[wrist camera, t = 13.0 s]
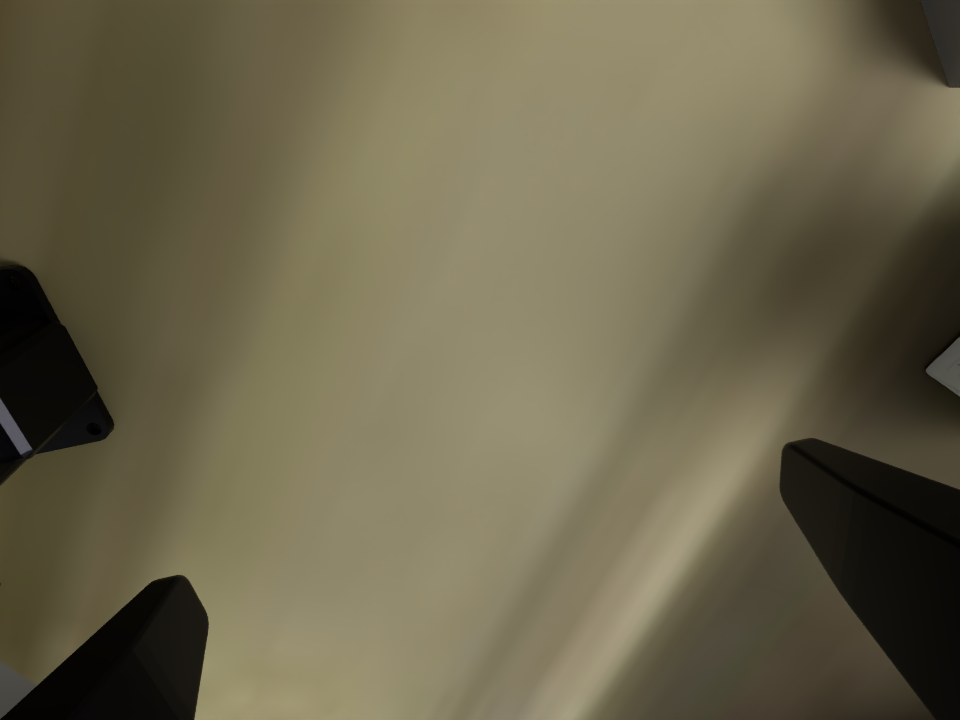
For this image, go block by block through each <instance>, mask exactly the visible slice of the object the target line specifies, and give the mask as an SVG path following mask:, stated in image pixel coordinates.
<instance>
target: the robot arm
mask: <svg viewBox="0 0 960 720" xmlns="http://www.w3.org/2000/svg"><path fill="white" fill-rule="evenodd" d="M12 276H13V277H15V278H17V279H18V280H19V281H20V282H21V285H22V287H21V288H20V287H18V286H15V284H14V283H13V282H12V279H11V277H12ZM92 423H96V424H98V425H99V426H100V427H101V429H97V428H95V427H94V426H93V425H92ZM113 429H114V422H113V419H112V418H111V416H110V414H109V412H108V410H107V408H106V406H105V405H104V403H103V401H102V399H101V397H100V395H99V393H98V392H97V385H96V383H95V381H94V380H93V378H92V376H91V374H90V372H89V370H88V368H87V367H86V365H85V363H84V361H83V359H82V357H81V355H80V353H79V352H78V350H77V348H76V346H75V344H74V342H73V340H72V339H71V337H70V335H69V333H68V331H67V329H66V327H65V326H63V325H62V324H61V323H60V321H59V319H58V317H57V315H56V314H55V312H54V310H53V308H52V306H51V304H50V302H49V301H48V299H47V297H46V295H45V293H44V291H43V289H42V288H41V286H40V284H39V282H38V280H37V278H36V277H35V275H34V274H33V273H32V272H31V271H30V270H29V269H27V268H26V267H23V266H19V265H11V266H6V267H1V268H0V485H2V484H3V483H4V482H5V481H6V480H7V479H8V478H9V477H10V476H11V475H12V474H13V473H14V472H15V471H16V470H17V469H18V468H19V467H20V466H21V465H22V464H23V463H24V462H25V461H26V460H27V459H30V458H32V457H33V456H34V455H35V454H39V453H44V452H49V451H53V450H58V449H63V448H68V447H73V446H77V445H82V444H87V443H92V442H96V441H101V440H103V439H105V438H106V437H107V436H108V435H109V434H110V433H111V432H112V430H113ZM779 485H780V493H781V497H782V499H783V501H784V503H785V505H786V507H787V508H788V510H789V512H790V513H791V515H792V516H793V518H794V520H795V521H796V523H797V525H798V526H799V528H800V530H801V531H802V533H803V534H804V536H805V538H806V539H807V541H808V543H809V544H810V546H811V548H812V549H813V551H814V552H815V554H816V556H817V557H818V559H819V561H820V562H821V564H822V566H823V567H824V569H825V571H826V572H827V574H828V575H829V577H830V579H831V580H832V582H833V583H834V585H835V586H836V588H837V589H838V591H839V592H840V594H841V595H842V596H843V598H844V599H845V601H846V602H847V603H848V605H849V606H850V608H851V609H852V610H853V611H854V613H855V614H856V615H857V617H858V618H859V619H860V621H861V622H862V623H863V625H864V626H865V627H866V629H867V630H868V631H869V633H870V634H871V635H872V637H873V638H874V639H875V641H876V642H877V643H878V644H879V646H880V647H881V648H882V650H883V651H884V652H885V654H886V655H887V656H888V658H889V659H890V660H891V662H892V663H893V664H894V666H895V667H896V668H897V670H898V671H899V672H900V673H901V675H902V676H903V677H904V679H905V680H906V681H907V683H908V684H909V685H910V687H911V688H912V689H913V691H914V692H915V693H916V695H917V696H918V697H919V699H920V700H921V701H922V702H923V704H924V705H925V706H926V708H927V709H928V710H929V712H930V713H931V714H932V716H933V717H934V718H935V720H960V490H959V489H957V488H954V487H951V486H948V485H945V484H942V483H940V482H937V481H934V480H931V479H928V478H925V477H923V476H920V475H917V474H914V473H911V472H909V471H906V470H903V469H900V468H897V467H894V466H892V465H889V464H886V463H883V462H880V461H878V460H875V459H872V458H869V457H866V456H863V455H861V454H858V453H855V452H852V451H849V450H847V449H844V448H841V447H838V446H835V445H832V444H830V443H827V442H824V441H821V440H818V439H815V438H807V439H802V440H797V441H793V442H789V443H787V444H785V445H784V447H783V449H782V456H781V470H780V484H779ZM0 584H1V583H0ZM208 628H209V622H208V616H207V613H206V610H205V609H204V607H203V605H202V603H201V601H200V599H199V598H198V596H197V594H196V592H195V590H194V589H193V587H192V585H191V583H190V581H189V580H188V579H187V578H186V577H185V576H183V575H175V576H170V577H166V578H161V579H157V580H154V581H153V582H151V583H150V584H149V585H147V586H146V587H145V588H144V589H143V590H142V591H141V592H140V593H139V594H138V595H136V596H135V597H134V598H133V599H132V600H131V601H130V602H129V603H128V604H127V605H125V606H124V607H123V608H122V609H121V610H120V611H119V612H118V613H117V614H116V615H114V616H113V617H112V618H111V619H110V620H109V621H108V622H107V623H106V624H105V625H103V626H102V627H101V628H100V629H99V630H98V631H97V632H96V633H95V634H94V635H92V636H91V637H90V638H89V639H88V640H87V641H86V642H85V643H84V644H83V645H81V646H80V647H79V648H78V649H77V650H76V651H75V652H74V653H73V654H72V655H70V656H69V657H68V658H67V659H66V660H65V661H64V662H63V663H62V664H61V665H59V666H58V667H57V668H56V669H55V670H54V671H53V672H52V673H51V674H50V675H49V676H47V677H46V678H45V679H44V680H43V681H42V682H41V683H40V684H39V685H38V686H36V687H35V688H34V689H33V690H32V691H31V692H30V693H29V694H28V695H27V696H26V697H24V698H23V699H22V700H21V701H20V702H19V703H18V704H17V705H16V706H14V707H13V708H12V709H11V710H10V711H9V712H8V713H7V714H6V715H5V716H3V717H2V718H1V719H0V720H194V718H195V712H196V706H197V699H198V693H199V686H200V680H201V674H202V667H203V661H204V655H205V648H206V642H207V636H208Z"/></svg>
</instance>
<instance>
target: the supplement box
mask: <svg viewBox="0 0 960 720" xmlns="http://www.w3.org/2000/svg"><path fill="white" fill-rule="evenodd" d="M926 373H927V374H928V375H930V376H931V377H933V378H934V379H936V380H937V381H939V382H940V383H941V384H943V385H944V386H946V387H947V388H949V389H950V390H951V391H953V392H954V393H955V394H957V395H958V396H959V397H960V337H959V338H958V339H957V340H956V341H955V342H954V343H953V344H952V345H951V346H950V347H949V348H947V349H946V350H945V351H944V352H943V353H942V354H941V355H940V356H939V357H937V358H936V359H935V360H934V361H933V362H932V363H931V364H930V365H929V366H928V368H927V369H926Z"/></svg>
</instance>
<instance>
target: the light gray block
mask: <svg viewBox="0 0 960 720" xmlns="http://www.w3.org/2000/svg"><path fill="white" fill-rule="evenodd" d="M920 1H921V4H922V7H923V10H924V13H925V16H926V19H927V22H928V25H929V28H930V31H931V34H932V37H933V40H934V43H935V46H936V49H937V52H938V55H939V58H940V61H941V64H942V67H943V70H944V74H945V77H946V80H947V83H948V86H949V88H960V0H920Z"/></svg>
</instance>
